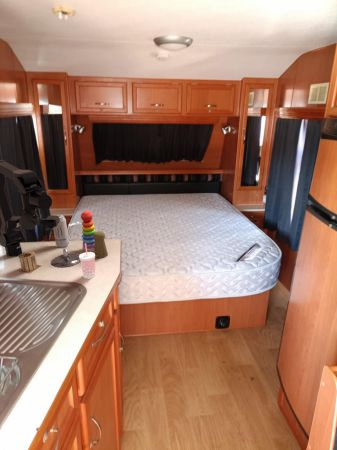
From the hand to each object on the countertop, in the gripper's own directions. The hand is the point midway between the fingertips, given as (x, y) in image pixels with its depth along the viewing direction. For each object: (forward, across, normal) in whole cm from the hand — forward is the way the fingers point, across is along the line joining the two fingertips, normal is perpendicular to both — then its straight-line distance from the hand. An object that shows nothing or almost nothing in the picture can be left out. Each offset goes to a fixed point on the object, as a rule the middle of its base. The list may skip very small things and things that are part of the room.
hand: (37, 241), depth 132 cm
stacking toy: (+12, +18, +17) cm, 28 cm away
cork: (+12, +23, +10) cm, 28 cm away
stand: (+12, -4, -1) cm, 13 cm away
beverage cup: (+12, +21, -8) cm, 26 cm away
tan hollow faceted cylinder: (+11, -4, -1) cm, 12 cm away
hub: (+12, +9, +4) cm, 16 cm away
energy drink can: (+13, +3, +22) cm, 25 cm away
